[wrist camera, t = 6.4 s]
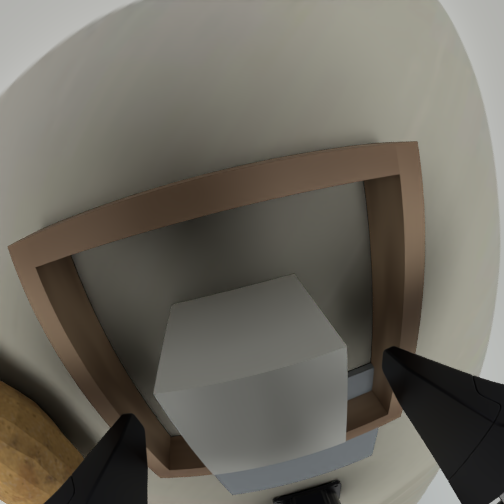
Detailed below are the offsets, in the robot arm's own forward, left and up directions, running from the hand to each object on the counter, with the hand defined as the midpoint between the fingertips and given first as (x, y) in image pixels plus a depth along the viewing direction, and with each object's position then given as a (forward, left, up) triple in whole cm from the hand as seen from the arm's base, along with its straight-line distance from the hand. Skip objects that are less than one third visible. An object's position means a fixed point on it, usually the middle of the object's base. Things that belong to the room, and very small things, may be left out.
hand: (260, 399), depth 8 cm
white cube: (0, 0, -4) cm, 4 cm away
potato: (-3, +16, -4) cm, 17 cm away
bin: (0, 0, -4) cm, 4 cm away
